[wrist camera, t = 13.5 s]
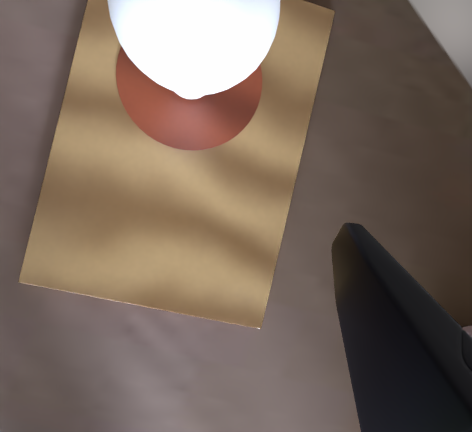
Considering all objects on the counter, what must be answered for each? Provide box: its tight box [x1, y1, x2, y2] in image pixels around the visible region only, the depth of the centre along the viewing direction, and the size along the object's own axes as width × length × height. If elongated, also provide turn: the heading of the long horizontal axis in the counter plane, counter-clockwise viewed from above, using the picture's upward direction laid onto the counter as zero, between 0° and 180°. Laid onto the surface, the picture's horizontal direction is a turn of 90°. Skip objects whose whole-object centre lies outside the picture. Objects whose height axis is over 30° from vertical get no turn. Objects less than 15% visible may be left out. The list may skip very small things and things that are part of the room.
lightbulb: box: [107, 0, 280, 99], centre depth 16 cm, size 6×6×11 cm
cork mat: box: [18, 0, 335, 329], centre depth 22 cm, size 20×14×1 cm
